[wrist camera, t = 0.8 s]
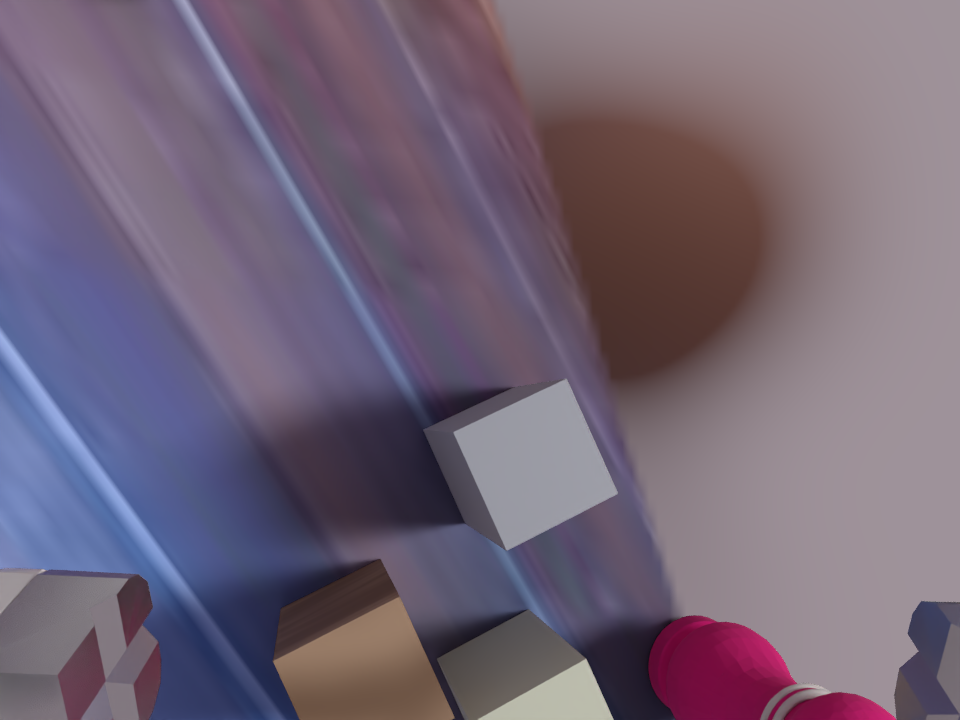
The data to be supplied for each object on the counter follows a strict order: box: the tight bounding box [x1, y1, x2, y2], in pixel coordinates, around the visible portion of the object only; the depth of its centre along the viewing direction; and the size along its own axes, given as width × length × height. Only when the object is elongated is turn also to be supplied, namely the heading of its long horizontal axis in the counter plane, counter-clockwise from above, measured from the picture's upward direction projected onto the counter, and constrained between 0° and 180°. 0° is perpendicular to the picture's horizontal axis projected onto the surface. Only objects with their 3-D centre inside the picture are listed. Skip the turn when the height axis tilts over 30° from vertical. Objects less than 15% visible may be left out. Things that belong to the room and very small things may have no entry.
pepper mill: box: [648, 616, 896, 720], centre depth 44 cm, size 7×7×20 cm
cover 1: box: [423, 379, 618, 551], centre depth 47 cm, size 6×6×11 cm
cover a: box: [273, 559, 455, 720], centre depth 44 cm, size 6×6×11 cm
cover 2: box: [437, 609, 614, 720], centre depth 46 cm, size 6×6×11 cm
